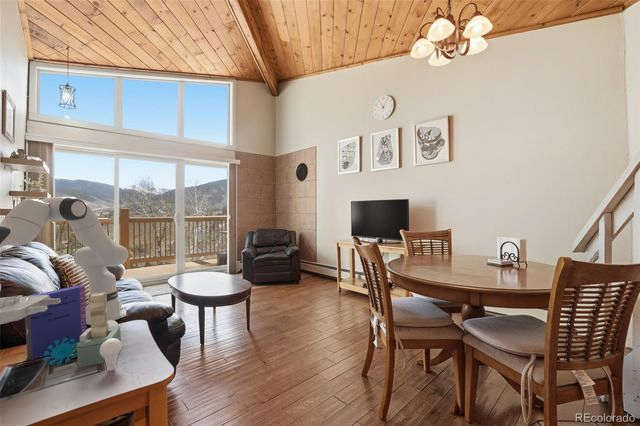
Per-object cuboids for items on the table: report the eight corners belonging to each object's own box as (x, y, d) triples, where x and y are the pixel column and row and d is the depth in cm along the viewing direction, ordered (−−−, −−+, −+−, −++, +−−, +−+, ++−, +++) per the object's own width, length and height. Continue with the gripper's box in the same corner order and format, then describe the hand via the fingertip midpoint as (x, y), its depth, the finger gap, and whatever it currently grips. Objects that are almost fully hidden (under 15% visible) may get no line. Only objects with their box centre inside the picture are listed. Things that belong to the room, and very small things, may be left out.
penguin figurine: (116, 316, 125) (124, 325, 117) (117, 335, 125) (125, 345, 118) (99, 321, 120) (106, 330, 112) (99, 340, 121) (106, 351, 113)
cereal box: (81, 338, 124) (78, 284, 124) (87, 340, 122) (84, 285, 122) (27, 357, 108) (24, 296, 108) (32, 360, 106) (29, 297, 106)
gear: (39, 366, 98) (47, 338, 104) (41, 373, 101) (49, 346, 108) (80, 360, 104) (85, 334, 110) (80, 367, 107) (86, 341, 114)
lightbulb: (124, 370, 96) (122, 338, 96) (101, 378, 92) (100, 345, 92) (120, 364, 101) (119, 333, 101) (99, 371, 96) (98, 339, 96)
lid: (89, 334, 110) (89, 326, 110) (120, 329, 114) (119, 321, 114) (77, 347, 99) (76, 338, 99) (111, 341, 103) (110, 333, 103)
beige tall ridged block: (96, 355, 108) (93, 293, 108) (108, 353, 109) (106, 292, 109) (92, 360, 104) (89, 296, 104) (105, 358, 106) (102, 294, 106)
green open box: (90, 352, 110) (89, 335, 110) (120, 347, 114) (120, 330, 114) (77, 367, 99) (77, 348, 99) (111, 361, 103) (111, 342, 103)
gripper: (-22, 310, 86) (37, 303, 92) (19, 294, 105) (65, 289, 111) (-21, 330, 86) (37, 322, 92) (20, 311, 105) (66, 305, 111)
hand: (53, 304), depth 101 cm, fingers open, 8 cm apart
